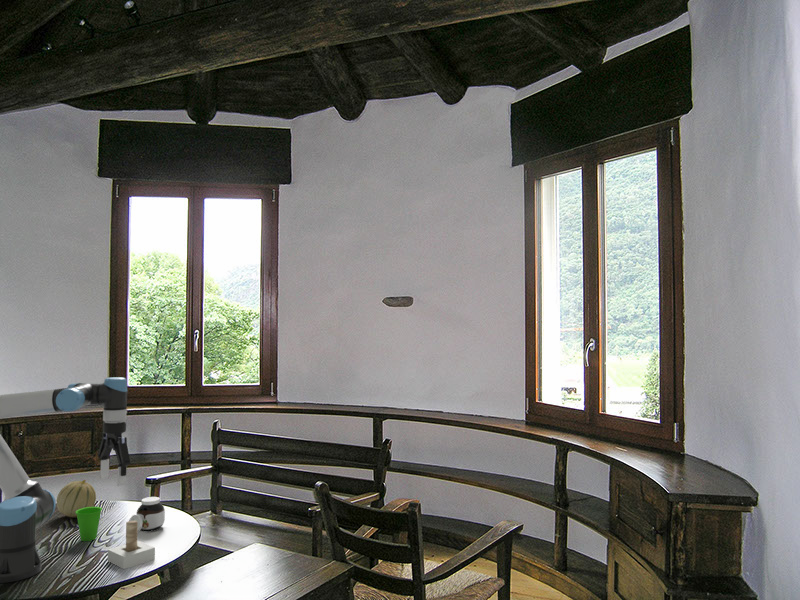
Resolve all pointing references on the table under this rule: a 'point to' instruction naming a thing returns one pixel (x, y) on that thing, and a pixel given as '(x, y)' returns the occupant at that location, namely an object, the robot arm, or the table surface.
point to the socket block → (131, 555)
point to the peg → (131, 535)
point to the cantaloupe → (75, 497)
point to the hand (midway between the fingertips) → (112, 481)
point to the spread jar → (149, 514)
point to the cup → (88, 522)
